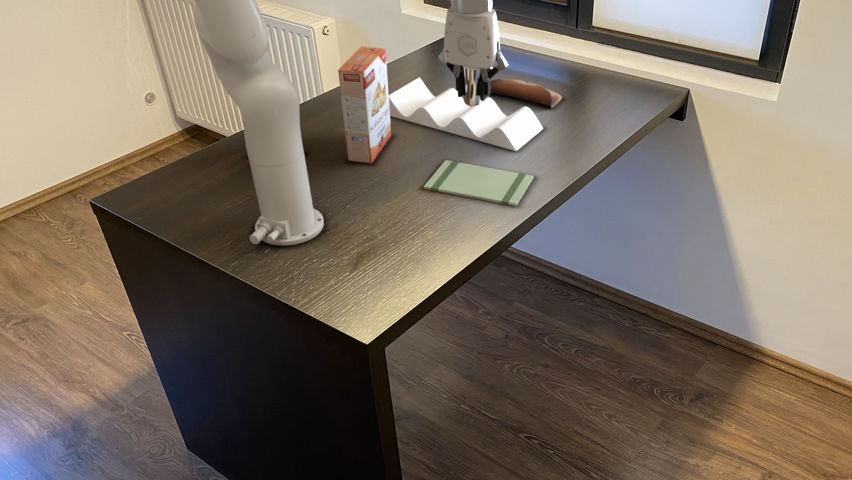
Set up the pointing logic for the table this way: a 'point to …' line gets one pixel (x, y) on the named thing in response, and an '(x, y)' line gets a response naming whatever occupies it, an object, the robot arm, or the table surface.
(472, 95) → the milkshake
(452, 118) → the white wavy rack
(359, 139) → the cracker box
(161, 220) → the table surface
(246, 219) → the table surface
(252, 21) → the robot arm
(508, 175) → the towel
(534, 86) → the sunglasses case
